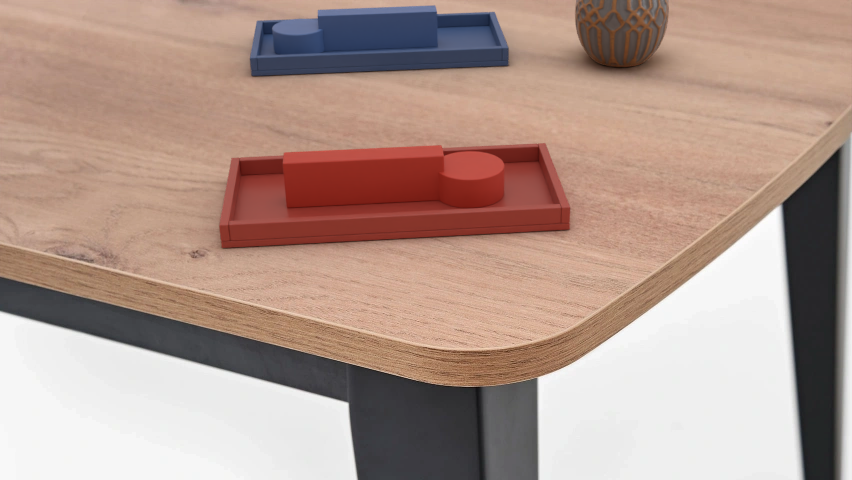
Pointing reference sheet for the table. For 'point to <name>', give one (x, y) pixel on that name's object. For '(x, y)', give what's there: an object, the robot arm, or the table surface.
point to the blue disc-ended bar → (358, 30)
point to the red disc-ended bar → (392, 177)
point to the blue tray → (392, 50)
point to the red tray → (390, 206)
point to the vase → (621, 29)
